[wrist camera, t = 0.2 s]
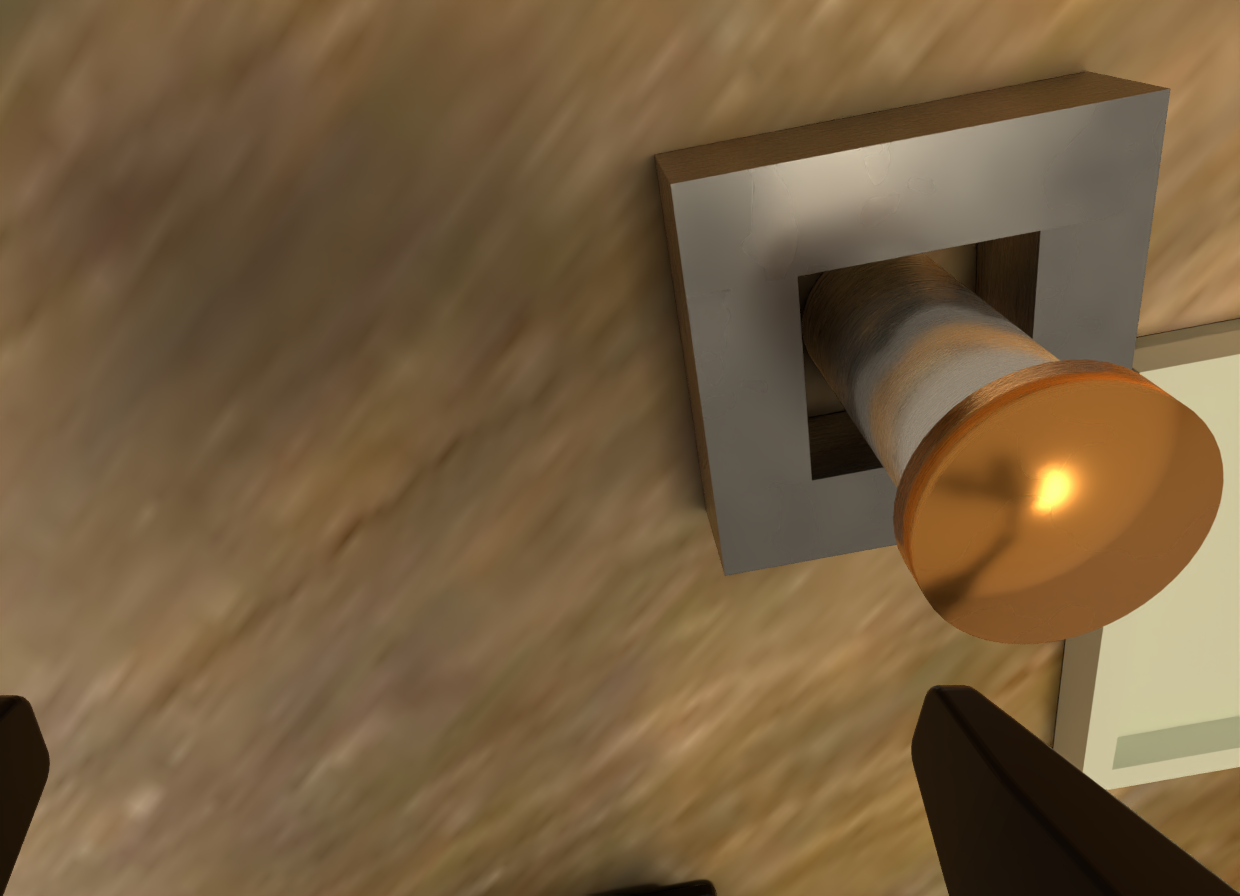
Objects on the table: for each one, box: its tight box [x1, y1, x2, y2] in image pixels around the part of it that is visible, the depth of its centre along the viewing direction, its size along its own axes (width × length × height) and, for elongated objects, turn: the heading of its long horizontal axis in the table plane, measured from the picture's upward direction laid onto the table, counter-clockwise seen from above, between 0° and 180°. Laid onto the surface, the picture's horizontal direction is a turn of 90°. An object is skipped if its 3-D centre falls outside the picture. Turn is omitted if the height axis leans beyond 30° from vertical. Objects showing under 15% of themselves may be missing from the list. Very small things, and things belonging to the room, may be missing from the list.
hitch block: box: [655, 72, 1170, 576], centre depth 21 cm, size 10×10×3 cm
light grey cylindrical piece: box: [802, 253, 1224, 644], centre depth 18 cm, size 5×5×10 cm
